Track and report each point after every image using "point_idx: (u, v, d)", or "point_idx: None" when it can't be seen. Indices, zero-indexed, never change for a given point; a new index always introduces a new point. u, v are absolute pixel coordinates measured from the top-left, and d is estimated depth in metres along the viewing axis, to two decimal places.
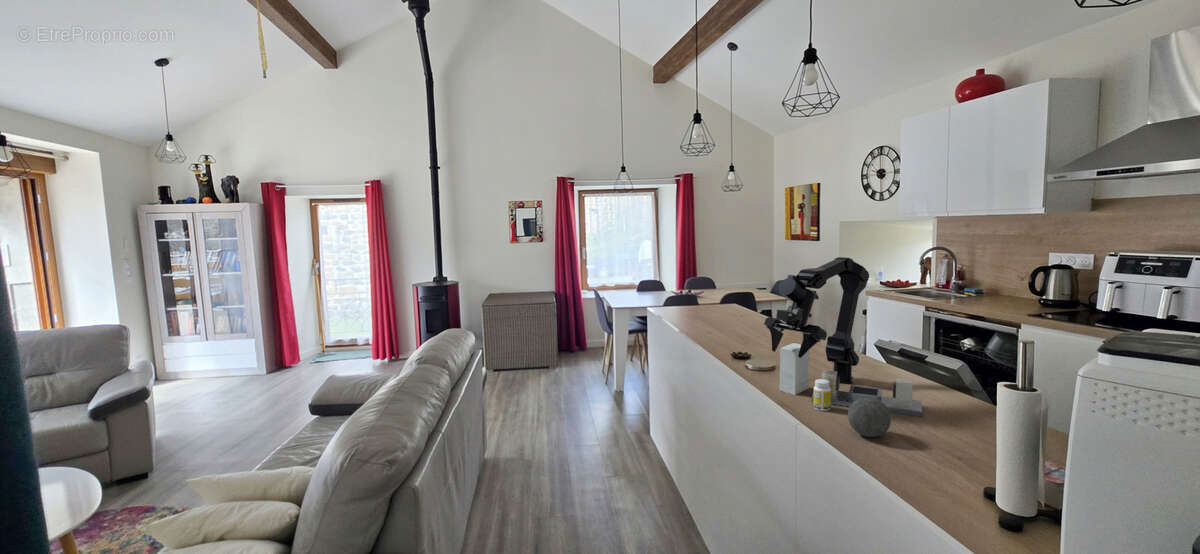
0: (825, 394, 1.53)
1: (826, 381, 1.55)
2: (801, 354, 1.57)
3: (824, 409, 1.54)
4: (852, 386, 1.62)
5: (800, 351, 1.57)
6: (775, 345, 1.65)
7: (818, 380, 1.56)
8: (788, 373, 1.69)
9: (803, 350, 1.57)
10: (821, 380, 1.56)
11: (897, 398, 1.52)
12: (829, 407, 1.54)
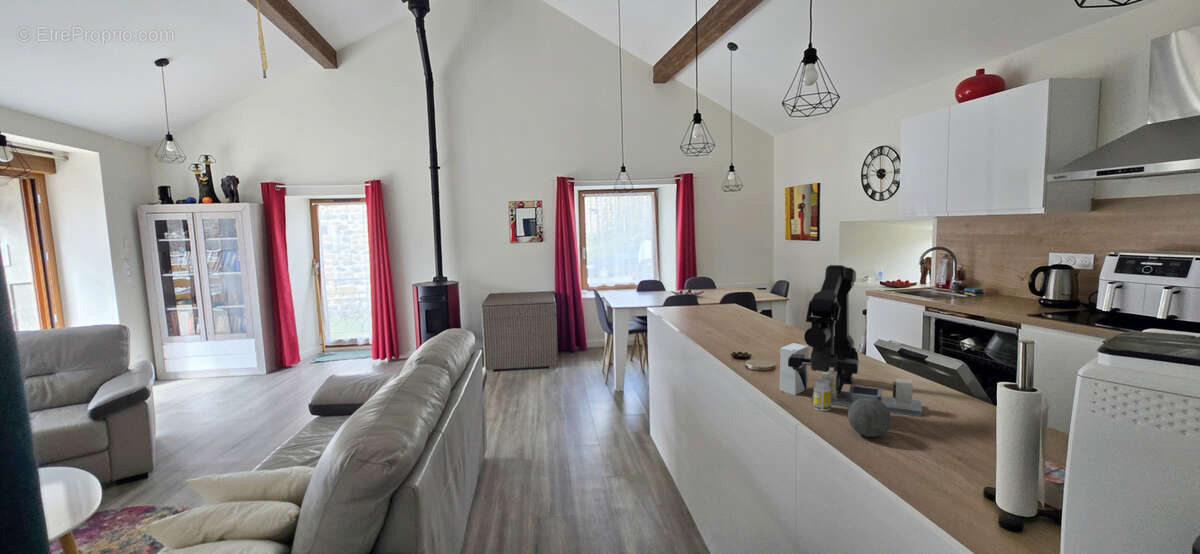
0: (825, 394, 1.53)
1: (826, 381, 1.55)
2: None
3: (824, 409, 1.54)
4: (852, 386, 1.62)
5: (840, 388, 1.52)
6: (806, 383, 1.58)
7: (818, 380, 1.56)
8: (788, 372, 1.69)
9: (842, 386, 1.52)
10: (821, 380, 1.56)
11: (897, 398, 1.52)
12: (829, 407, 1.54)
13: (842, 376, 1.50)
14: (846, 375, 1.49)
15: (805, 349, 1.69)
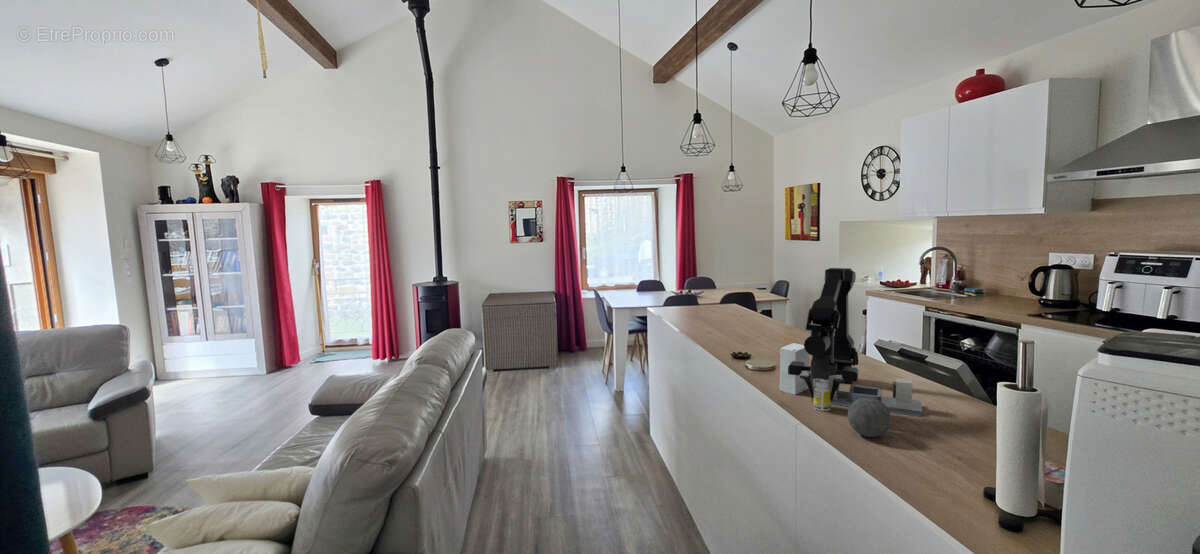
0: (825, 394, 1.53)
1: (826, 381, 1.55)
2: None
3: (824, 409, 1.54)
4: (852, 386, 1.62)
5: (832, 395, 1.53)
6: (813, 392, 1.57)
7: (818, 380, 1.56)
8: None
9: (834, 393, 1.54)
10: (821, 380, 1.56)
11: (897, 398, 1.52)
12: (829, 407, 1.54)
13: (834, 383, 1.52)
14: (838, 382, 1.51)
15: None
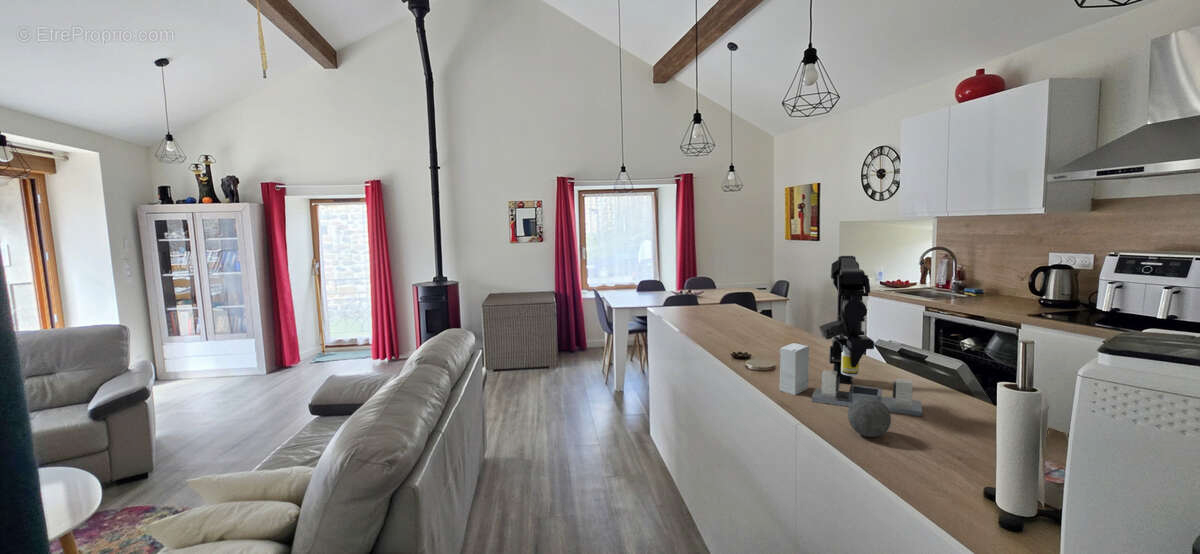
0: (844, 358, 1.55)
1: None
2: (853, 364, 1.53)
3: (843, 373, 1.56)
4: (852, 386, 1.62)
5: (850, 361, 1.53)
6: None
7: None
8: (788, 372, 1.69)
9: (853, 360, 1.53)
10: None
11: (897, 398, 1.52)
12: (848, 373, 1.55)
13: (847, 348, 1.52)
14: (847, 347, 1.51)
15: (805, 349, 1.69)
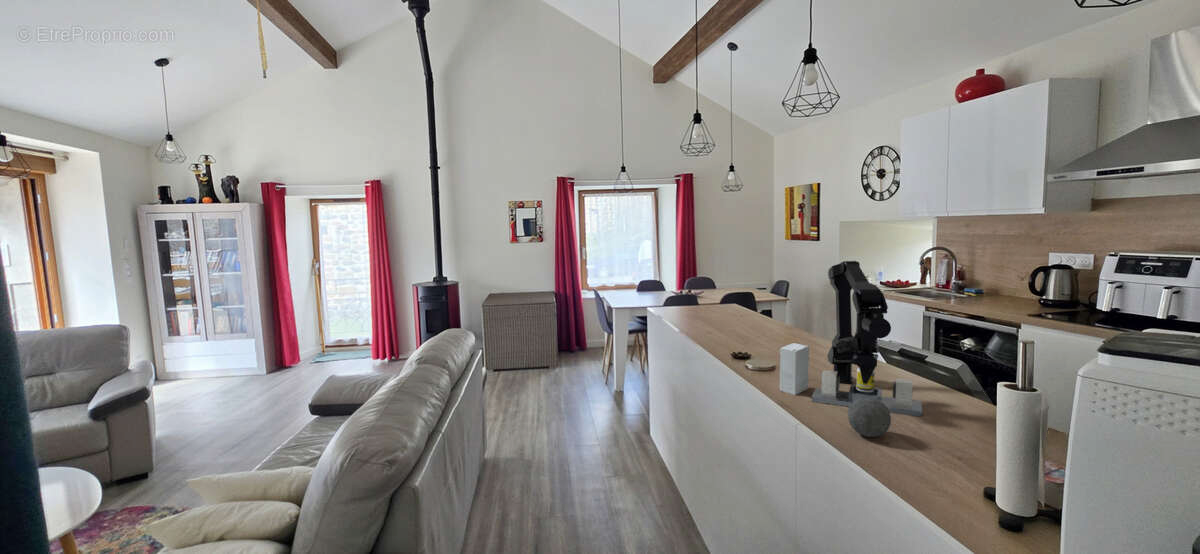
0: (857, 373, 1.58)
1: None
2: (864, 380, 1.55)
3: (857, 388, 1.58)
4: (852, 386, 1.62)
5: None
6: None
7: None
8: (788, 372, 1.69)
9: (863, 376, 1.55)
10: None
11: (897, 398, 1.52)
12: (860, 388, 1.57)
13: None
14: None
15: (805, 349, 1.69)
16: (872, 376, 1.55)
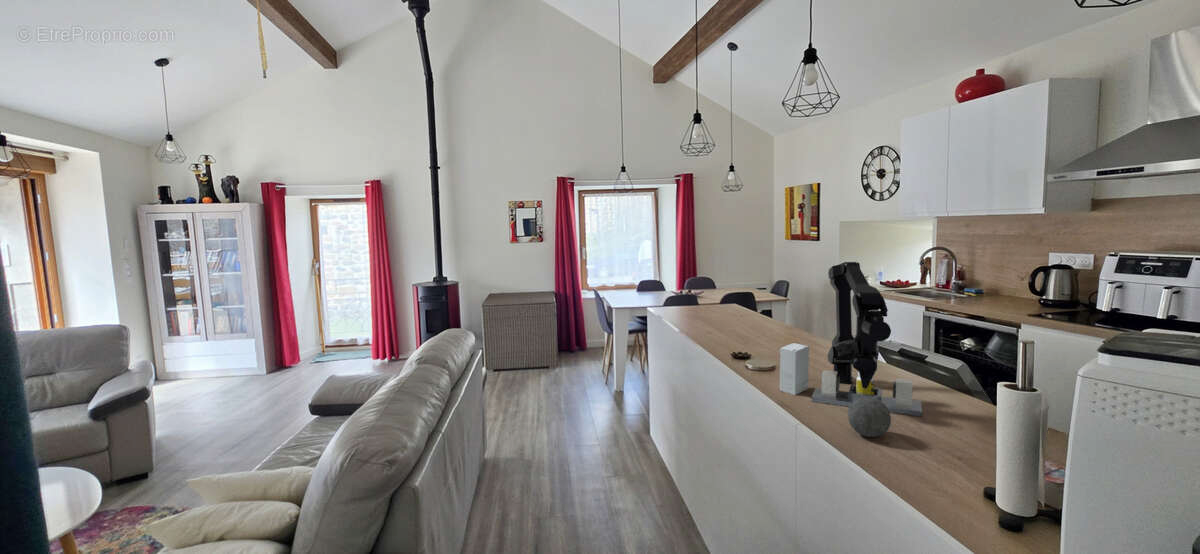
0: (857, 382, 1.58)
1: None
2: (864, 385, 1.54)
3: None
4: (852, 386, 1.62)
5: None
6: None
7: None
8: (788, 372, 1.69)
9: (863, 381, 1.53)
10: None
11: (897, 398, 1.52)
12: None
13: None
14: None
15: (805, 349, 1.69)
16: (872, 384, 1.56)
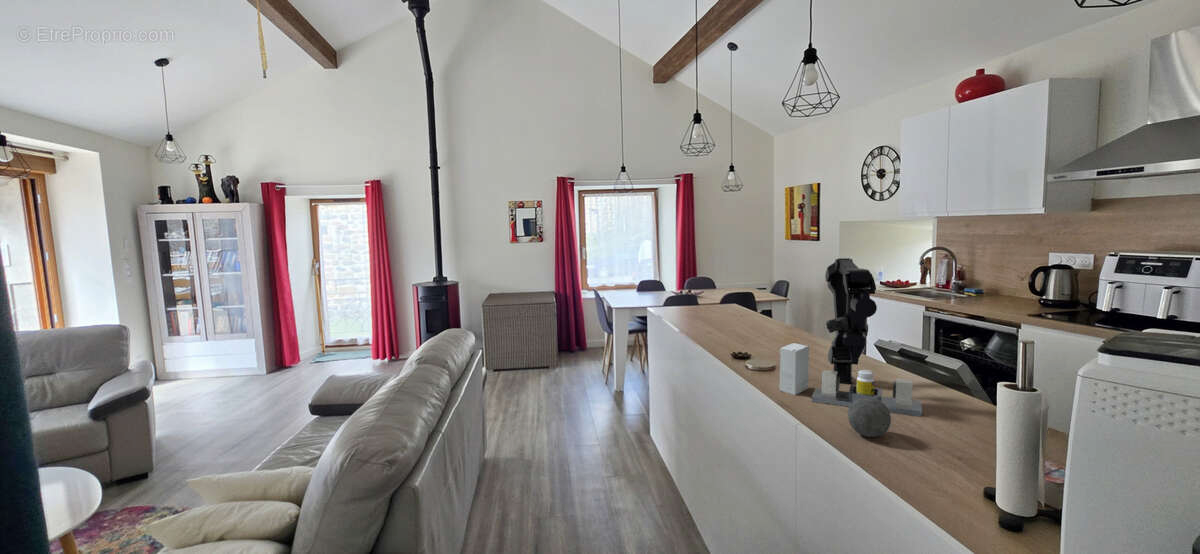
0: (857, 382, 1.58)
1: (865, 372, 1.56)
2: (853, 360, 1.59)
3: None
4: (852, 386, 1.62)
5: (851, 358, 1.59)
6: None
7: (866, 370, 1.58)
8: (788, 373, 1.69)
9: (852, 357, 1.59)
10: (867, 371, 1.57)
11: (897, 398, 1.52)
12: None
13: None
14: None
15: (805, 349, 1.69)
16: (872, 385, 1.56)
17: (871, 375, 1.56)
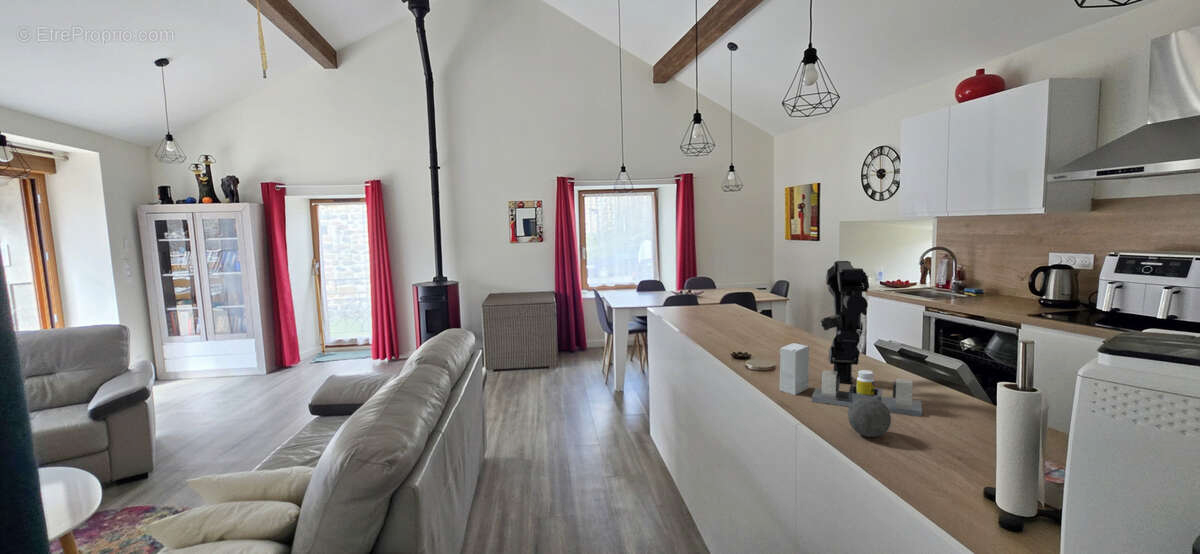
0: (857, 382, 1.58)
1: (865, 372, 1.56)
2: (848, 357, 1.62)
3: None
4: (852, 386, 1.62)
5: (845, 355, 1.62)
6: None
7: (866, 371, 1.58)
8: (788, 372, 1.69)
9: (847, 353, 1.62)
10: (867, 371, 1.57)
11: (897, 398, 1.52)
12: None
13: None
14: None
15: (805, 349, 1.69)
16: (872, 385, 1.56)
17: (871, 375, 1.56)
